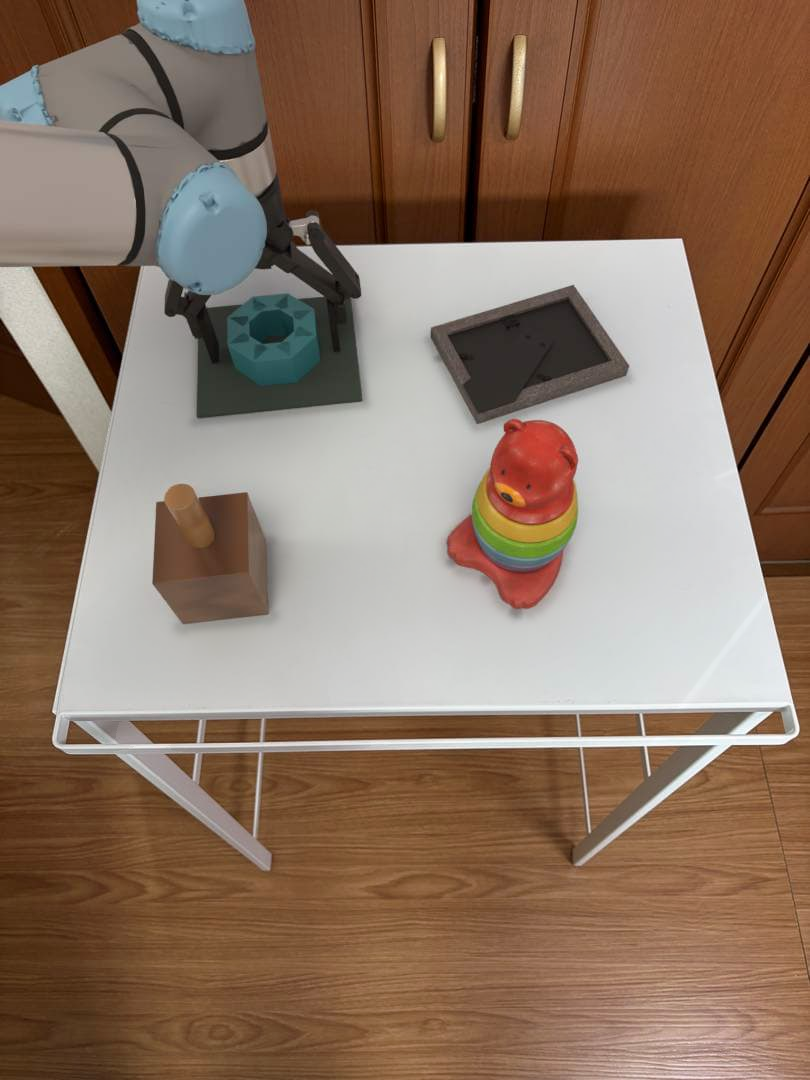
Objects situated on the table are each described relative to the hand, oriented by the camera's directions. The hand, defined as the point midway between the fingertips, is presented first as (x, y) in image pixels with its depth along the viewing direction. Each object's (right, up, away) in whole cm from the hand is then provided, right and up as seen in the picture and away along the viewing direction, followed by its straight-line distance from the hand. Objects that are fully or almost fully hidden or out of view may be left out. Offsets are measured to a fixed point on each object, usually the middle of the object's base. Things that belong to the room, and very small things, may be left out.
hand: (276, 348), depth 84 cm
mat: (0, 0, +1) cm, 1 cm away
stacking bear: (+25, -23, -11) cm, 36 cm away
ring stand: (-3, -26, -13) cm, 29 cm away
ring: (0, 0, 0) cm, 1 cm away
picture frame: (+28, -1, 0) cm, 28 cm away
